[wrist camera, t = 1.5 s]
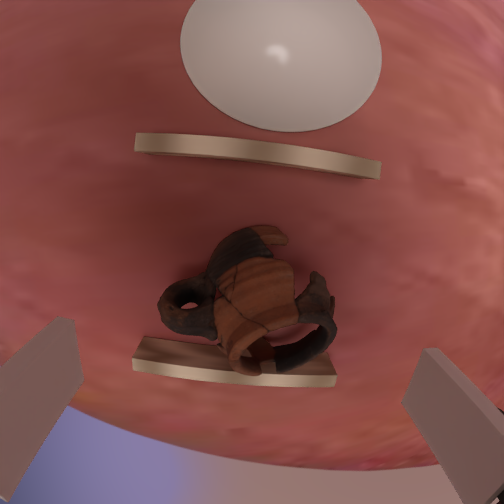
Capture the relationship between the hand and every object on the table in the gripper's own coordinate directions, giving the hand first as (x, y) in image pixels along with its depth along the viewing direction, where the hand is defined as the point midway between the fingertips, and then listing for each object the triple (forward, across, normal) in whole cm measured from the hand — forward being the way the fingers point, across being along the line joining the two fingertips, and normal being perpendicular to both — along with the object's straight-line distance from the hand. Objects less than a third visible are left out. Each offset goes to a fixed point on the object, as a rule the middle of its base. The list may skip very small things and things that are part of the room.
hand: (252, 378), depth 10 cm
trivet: (+14, +1, +18) cm, 23 cm away
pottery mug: (+15, -1, 0) cm, 15 cm away
